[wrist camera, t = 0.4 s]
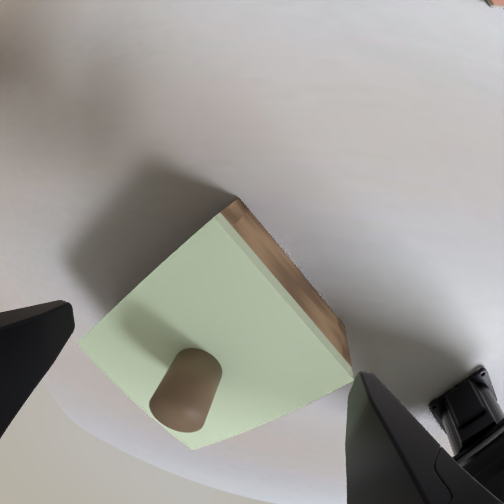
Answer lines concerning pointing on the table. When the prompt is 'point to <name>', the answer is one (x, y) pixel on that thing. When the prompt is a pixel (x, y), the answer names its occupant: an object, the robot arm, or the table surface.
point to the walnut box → (287, 274)
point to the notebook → (496, 3)
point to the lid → (214, 342)
